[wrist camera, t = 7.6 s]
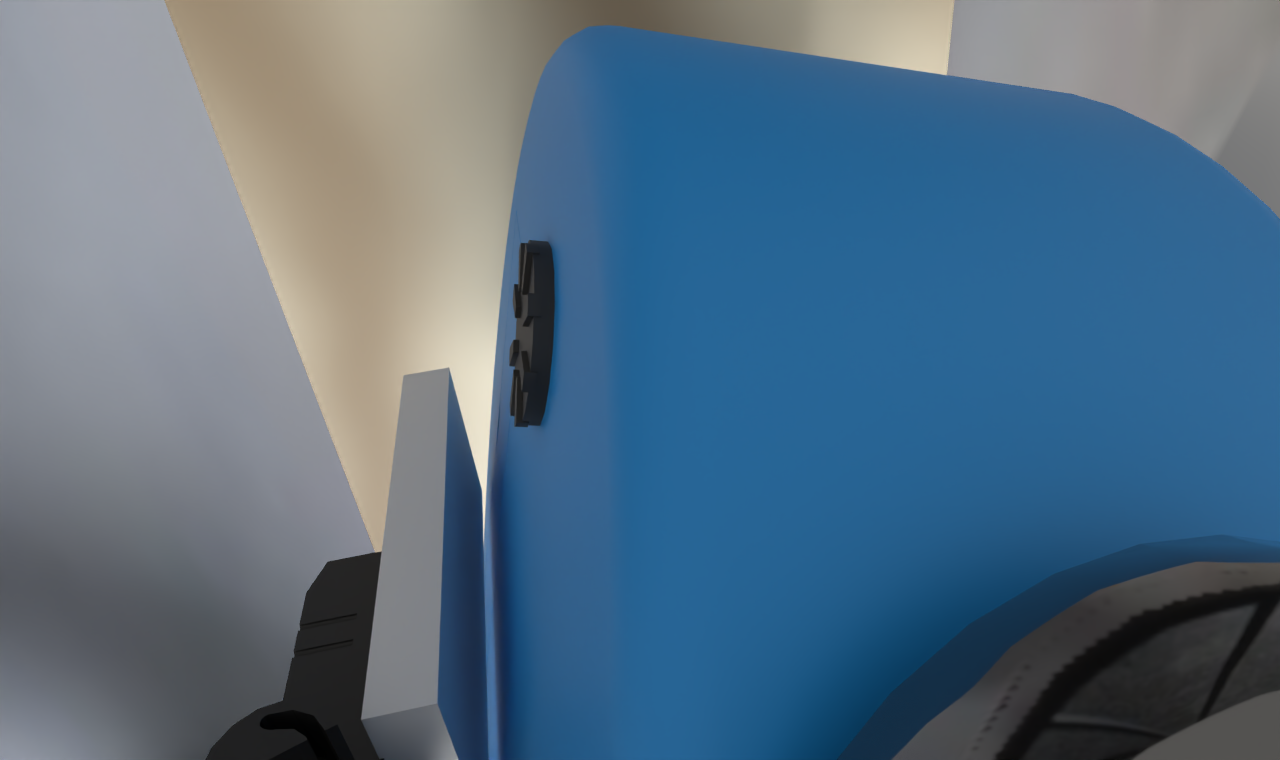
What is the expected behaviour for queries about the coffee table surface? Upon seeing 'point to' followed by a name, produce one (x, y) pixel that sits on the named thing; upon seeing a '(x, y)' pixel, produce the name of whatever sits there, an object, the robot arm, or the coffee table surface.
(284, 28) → the stool
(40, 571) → the coffee table surface
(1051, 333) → the alarm clock
